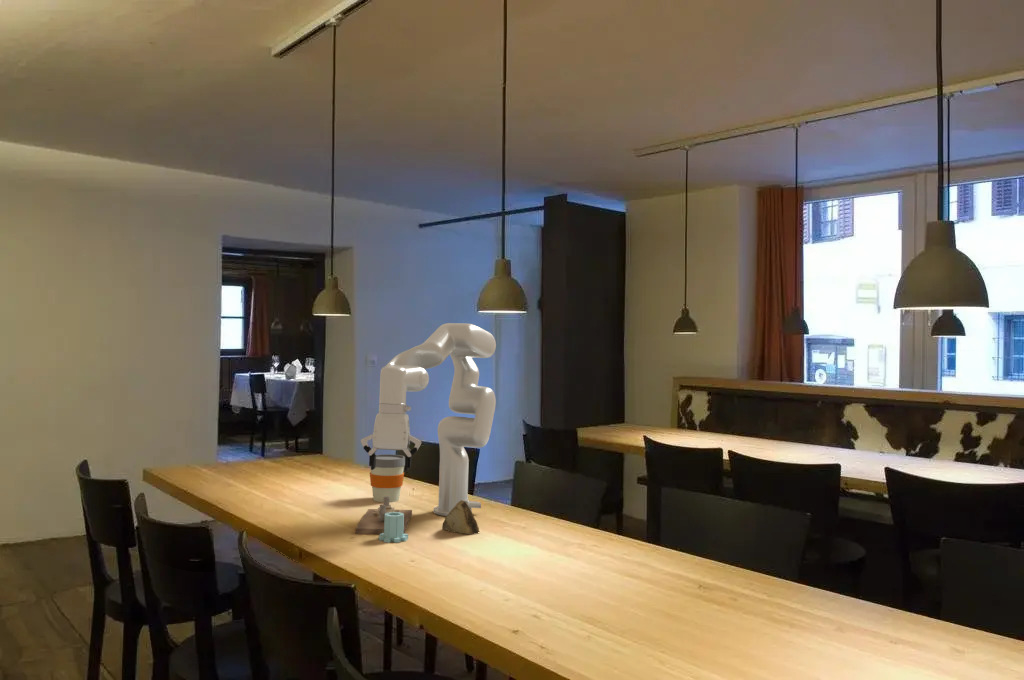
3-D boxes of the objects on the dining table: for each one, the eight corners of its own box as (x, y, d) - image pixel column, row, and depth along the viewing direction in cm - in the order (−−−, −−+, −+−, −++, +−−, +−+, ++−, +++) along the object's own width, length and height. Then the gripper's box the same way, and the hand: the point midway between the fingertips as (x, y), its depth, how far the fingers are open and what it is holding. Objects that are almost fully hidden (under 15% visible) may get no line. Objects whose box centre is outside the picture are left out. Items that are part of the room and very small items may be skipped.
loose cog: (409, 535, 213) (410, 511, 213) (406, 543, 205) (407, 517, 205) (380, 534, 213) (381, 510, 213) (377, 542, 205) (377, 517, 205)
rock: (431, 522, 220) (449, 525, 212) (445, 497, 224) (463, 499, 216) (457, 541, 224) (475, 544, 216) (470, 516, 228) (489, 518, 220)
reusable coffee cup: (400, 504, 254) (402, 460, 254) (364, 502, 254) (365, 459, 255) (406, 496, 267) (408, 454, 267) (372, 495, 267) (373, 453, 267)
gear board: (411, 514, 239) (412, 492, 239) (404, 534, 214) (404, 510, 214) (368, 513, 238) (369, 491, 239) (355, 533, 214) (356, 509, 214)
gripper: (424, 409, 215) (422, 468, 214) (364, 407, 215) (362, 466, 215) (420, 411, 207) (418, 473, 207) (359, 409, 207) (356, 470, 207)
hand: (389, 469), depth 211 cm, fingers open, 9 cm apart
